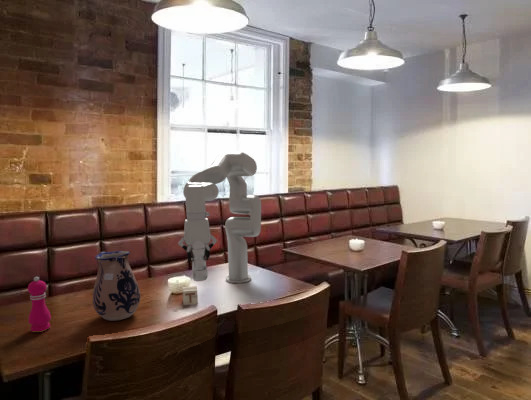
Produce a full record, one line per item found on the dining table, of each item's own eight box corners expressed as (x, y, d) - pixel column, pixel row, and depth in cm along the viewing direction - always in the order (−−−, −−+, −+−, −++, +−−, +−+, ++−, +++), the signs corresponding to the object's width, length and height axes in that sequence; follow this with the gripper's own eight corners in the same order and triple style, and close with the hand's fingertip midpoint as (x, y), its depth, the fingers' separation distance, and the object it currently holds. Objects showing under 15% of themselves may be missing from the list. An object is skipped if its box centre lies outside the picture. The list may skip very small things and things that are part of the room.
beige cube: (183, 300, 182) (182, 287, 181) (197, 299, 183) (196, 285, 183) (183, 305, 176) (182, 291, 175) (197, 304, 177) (197, 290, 176)
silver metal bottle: (211, 278, 172) (208, 230, 170) (203, 284, 166) (201, 234, 163) (196, 277, 175) (194, 230, 172) (188, 282, 168) (186, 233, 165)
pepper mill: (35, 326, 157) (30, 274, 155) (55, 325, 158) (50, 273, 156) (25, 334, 150) (20, 280, 148) (46, 333, 151) (42, 279, 149)
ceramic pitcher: (114, 329, 153) (110, 262, 150) (78, 318, 164) (74, 255, 161) (150, 313, 168) (147, 251, 165) (115, 304, 179) (112, 246, 176)
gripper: (217, 213, 172) (219, 256, 174) (174, 216, 169) (176, 259, 171) (219, 216, 165) (221, 260, 167) (174, 219, 161) (176, 264, 164)
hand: (198, 259), depth 169 cm, fingers closed on silver metal bottle, 6 cm apart
